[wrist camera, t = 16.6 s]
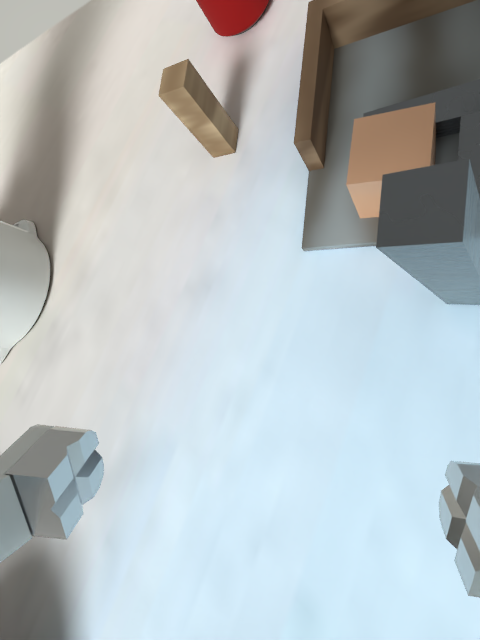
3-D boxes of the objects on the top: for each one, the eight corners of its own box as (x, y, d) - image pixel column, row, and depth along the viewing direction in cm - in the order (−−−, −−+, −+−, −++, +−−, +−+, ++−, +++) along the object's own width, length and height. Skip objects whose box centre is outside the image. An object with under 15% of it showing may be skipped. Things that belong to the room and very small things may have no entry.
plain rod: (213, 157, 35) (158, 95, 28) (216, 135, 35) (163, 69, 28) (235, 152, 34) (183, 86, 27) (238, 129, 34) (188, 58, 27)
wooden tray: (304, 251, 28) (285, 228, 25) (323, 47, 32) (308, 2, 28) (541, 232, 21) (561, 197, 18) (533, -26, 25) (548, -99, 21)
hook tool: (356, 301, 26) (235, 256, 15) (371, 126, 27) (266, -39, 16) (493, 305, 21) (462, 241, 10) (510, 89, 22) (497, -192, 11)
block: (360, 218, 26) (346, 184, 22) (366, 161, 27) (354, 119, 23) (430, 213, 24) (429, 174, 20) (436, 150, 25) (435, 102, 21)
